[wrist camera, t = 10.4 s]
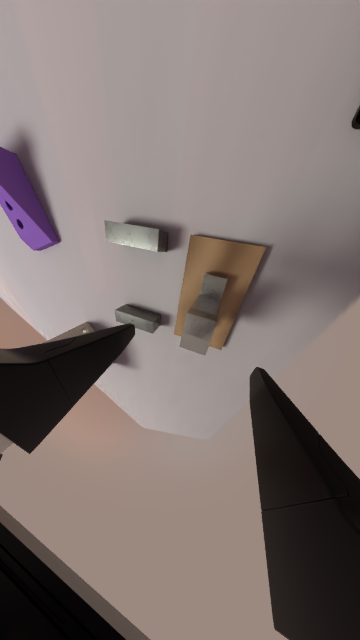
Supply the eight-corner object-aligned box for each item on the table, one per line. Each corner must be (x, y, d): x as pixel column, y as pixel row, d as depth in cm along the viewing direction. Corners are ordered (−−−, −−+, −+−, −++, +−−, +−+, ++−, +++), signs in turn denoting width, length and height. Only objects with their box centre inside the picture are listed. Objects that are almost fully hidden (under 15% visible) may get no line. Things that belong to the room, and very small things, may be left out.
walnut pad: (263, 247, 15) (266, 247, 14) (221, 346, 23) (221, 349, 22) (192, 235, 17) (190, 234, 16) (175, 331, 25) (174, 334, 24)
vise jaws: (168, 232, 18) (158, 229, 15) (159, 325, 26) (152, 333, 23) (120, 224, 19) (104, 220, 17) (126, 314, 27) (116, 320, 25)
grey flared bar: (227, 277, 17) (228, 292, 10) (211, 326, 21) (203, 360, 14) (206, 272, 18) (192, 284, 11) (193, 321, 22) (178, 351, 15)
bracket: (0, 174, 22) (-78, 147, 17) (18, 155, 20) (-66, 115, 14) (42, 250, 27) (-7, 249, 21) (61, 242, 25) (11, 239, 19)
